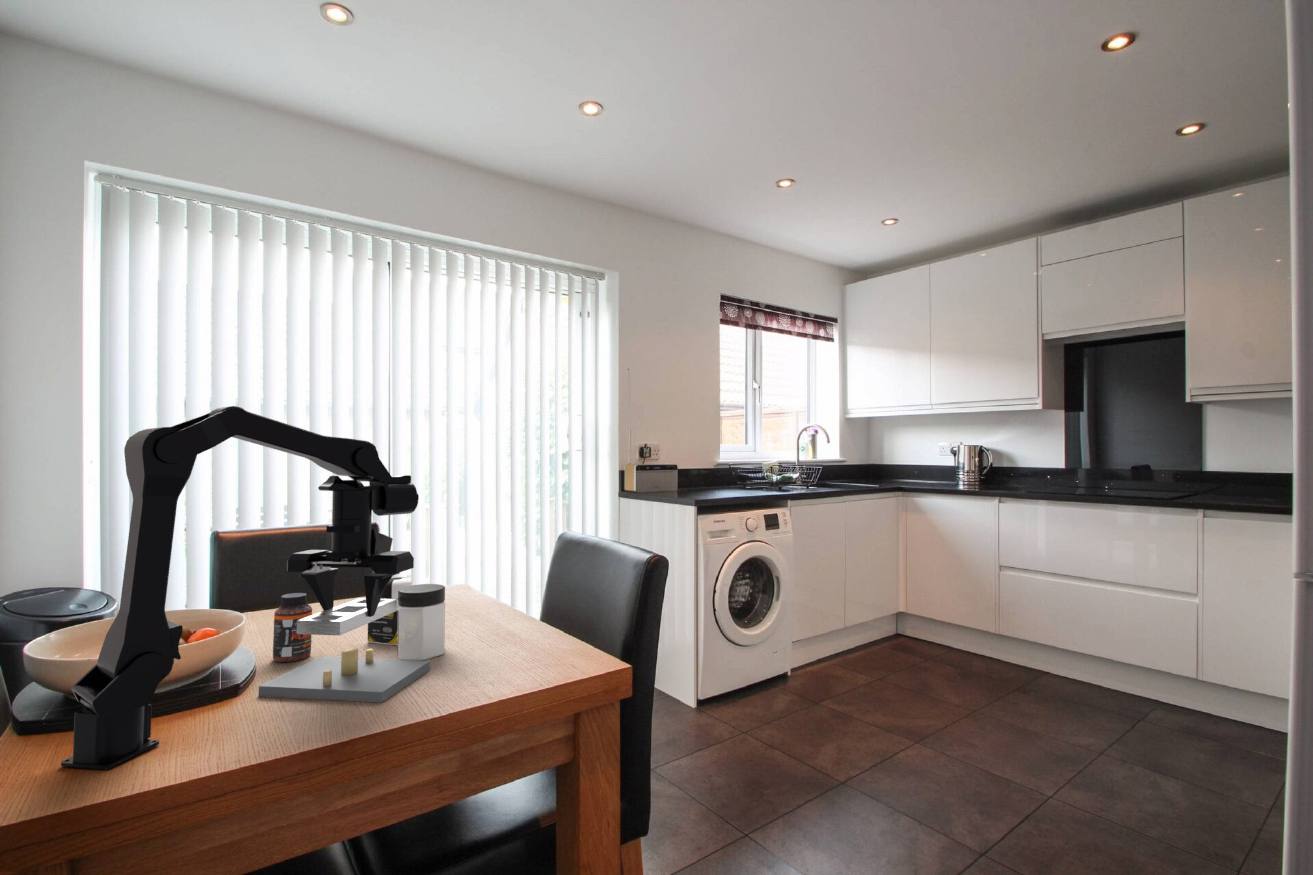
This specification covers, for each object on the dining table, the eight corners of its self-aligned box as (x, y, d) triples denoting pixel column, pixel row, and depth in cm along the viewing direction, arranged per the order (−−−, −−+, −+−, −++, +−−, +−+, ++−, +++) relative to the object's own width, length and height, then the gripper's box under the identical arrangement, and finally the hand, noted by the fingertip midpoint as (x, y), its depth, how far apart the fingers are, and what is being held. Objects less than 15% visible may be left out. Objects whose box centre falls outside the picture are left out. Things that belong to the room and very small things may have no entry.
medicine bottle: (366, 642, 117) (367, 581, 118) (392, 633, 124) (393, 574, 125) (396, 646, 115) (397, 583, 116) (421, 635, 122) (422, 576, 123)
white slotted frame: (358, 609, 104) (359, 598, 105) (396, 610, 104) (396, 599, 104) (296, 633, 90) (296, 620, 90) (339, 635, 89) (340, 621, 89)
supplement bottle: (293, 664, 105) (294, 599, 105) (264, 662, 106) (265, 597, 107) (318, 653, 111) (320, 591, 111) (291, 651, 112) (292, 590, 112)
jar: (385, 660, 107) (386, 592, 107) (409, 646, 115) (409, 583, 116) (434, 661, 106) (434, 593, 107) (453, 647, 114) (454, 584, 115)
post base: (382, 702, 88) (382, 667, 88) (258, 696, 91) (259, 662, 91) (429, 669, 102) (430, 639, 102) (321, 665, 104) (322, 636, 105)
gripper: (431, 514, 104) (429, 605, 103) (332, 513, 107) (330, 602, 106) (395, 520, 93) (393, 622, 92) (285, 519, 95) (283, 618, 95)
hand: (350, 615), depth 97 cm, fingers closed on white slotted frame, 7 cm apart
